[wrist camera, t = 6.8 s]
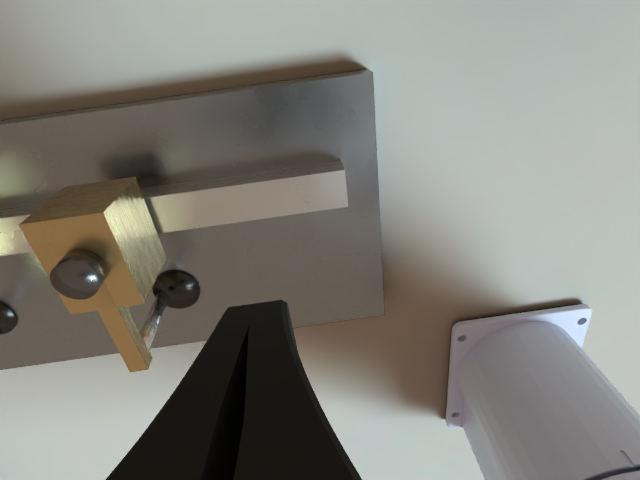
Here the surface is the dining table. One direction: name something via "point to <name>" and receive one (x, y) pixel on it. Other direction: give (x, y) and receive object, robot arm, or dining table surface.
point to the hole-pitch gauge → (205, 208)
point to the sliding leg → (103, 258)
